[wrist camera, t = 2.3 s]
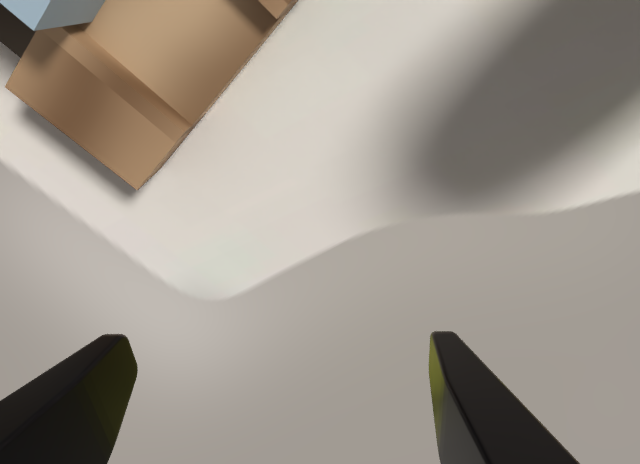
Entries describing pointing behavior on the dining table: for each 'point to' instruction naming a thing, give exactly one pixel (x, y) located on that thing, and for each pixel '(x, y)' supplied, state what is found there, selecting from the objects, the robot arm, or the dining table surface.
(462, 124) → the dining table surface
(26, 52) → the tray
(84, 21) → the block
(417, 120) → the dining table surface
